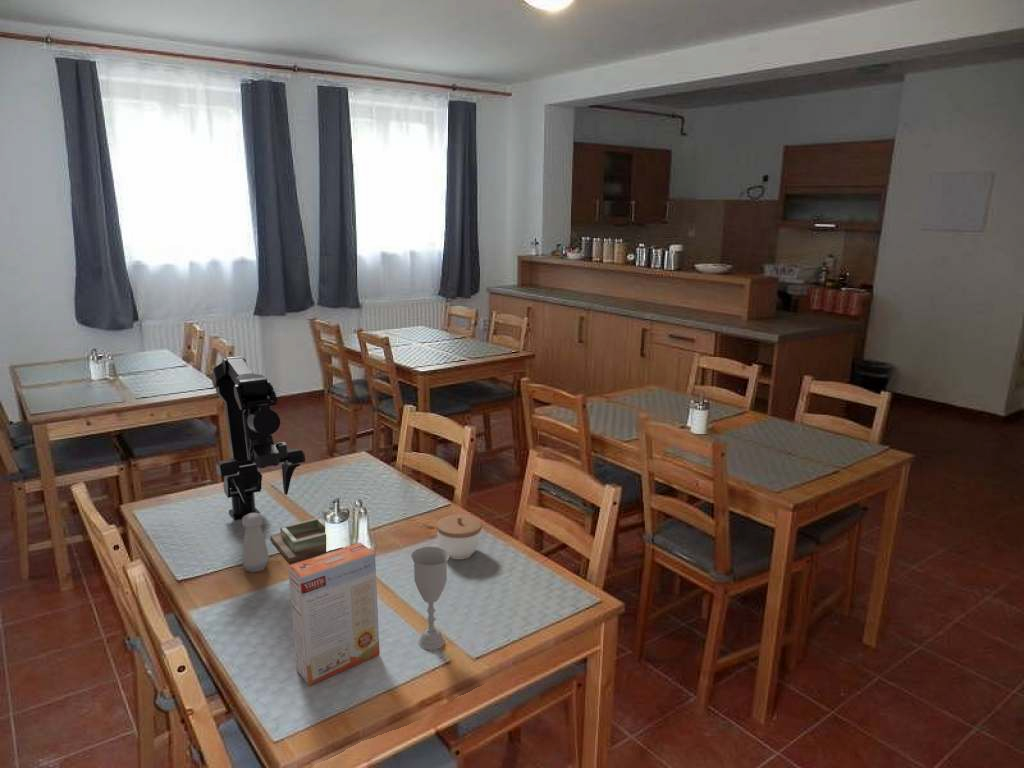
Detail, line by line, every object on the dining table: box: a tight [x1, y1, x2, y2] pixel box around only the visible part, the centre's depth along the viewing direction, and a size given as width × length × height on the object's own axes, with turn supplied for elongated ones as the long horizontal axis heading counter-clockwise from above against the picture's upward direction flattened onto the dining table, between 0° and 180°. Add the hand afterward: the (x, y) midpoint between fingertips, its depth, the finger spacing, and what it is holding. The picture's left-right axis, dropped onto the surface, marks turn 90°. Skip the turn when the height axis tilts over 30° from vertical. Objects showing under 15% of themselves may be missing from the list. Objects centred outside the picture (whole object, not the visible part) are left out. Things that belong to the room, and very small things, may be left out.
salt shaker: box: [241, 513, 270, 573], centre depth 156 cm, size 6×6×13 cm
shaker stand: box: [269, 517, 326, 564], centre depth 170 cm, size 14×14×4 cm
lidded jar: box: [436, 513, 483, 560], centre depth 165 cm, size 11×11×9 cm
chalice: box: [410, 546, 450, 651], centre depth 130 cm, size 7×7×18 cm
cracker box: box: [287, 542, 381, 686], centre depth 123 cm, size 14×6×21 cm, turn 129°
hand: (265, 498), depth 161 cm, fingers open, 9 cm apart
